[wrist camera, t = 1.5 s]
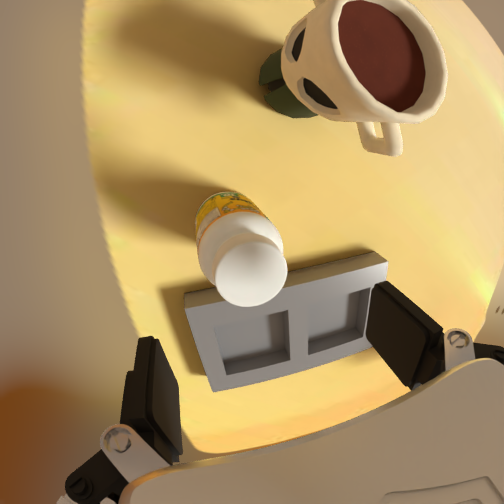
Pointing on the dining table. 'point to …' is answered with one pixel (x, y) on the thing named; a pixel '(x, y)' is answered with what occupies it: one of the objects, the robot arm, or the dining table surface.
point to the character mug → (360, 68)
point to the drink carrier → (286, 323)
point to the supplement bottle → (239, 249)
